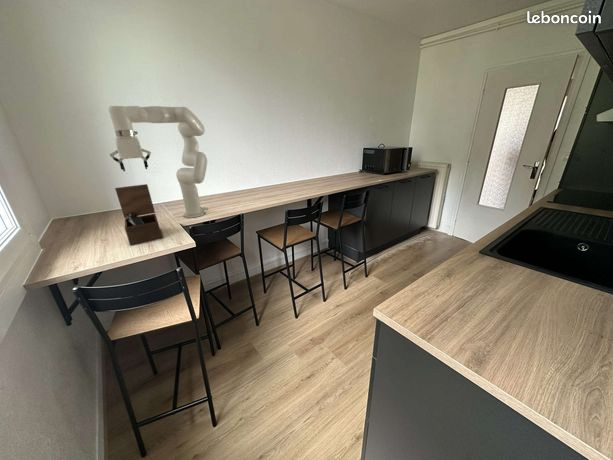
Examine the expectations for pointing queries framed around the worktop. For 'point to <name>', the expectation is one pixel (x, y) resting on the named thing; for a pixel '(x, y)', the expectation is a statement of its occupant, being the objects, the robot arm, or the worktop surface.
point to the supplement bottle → (134, 220)
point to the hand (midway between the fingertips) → (135, 169)
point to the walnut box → (143, 230)
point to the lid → (135, 200)
